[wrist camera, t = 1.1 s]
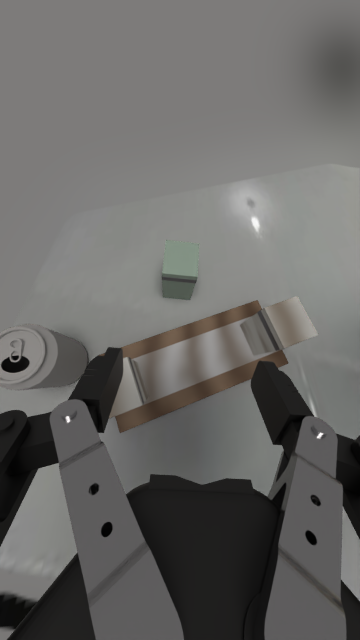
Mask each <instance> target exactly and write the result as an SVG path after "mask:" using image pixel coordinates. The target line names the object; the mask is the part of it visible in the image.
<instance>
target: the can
mask: <svg viewBox="0 0 360 640" xmlns="http://www.w3.org/2000/svg"><path fill="white" fill-rule="evenodd" d="M87 361H88V359H87V352H86V350H85V348H84V346H83V345H82V344H81V343H80V342H78V341H76V340H74V339H71V338H69V337H67V336H64V335H62V334H59V333H57V332H54V331H52V330H49V329H47V328H44V327H42V326H40V325H34V324H25V325H18V326H16V327H10V328H8V329H6V330H4V331H1V332H0V386H2V387H4V388H6V389H10V390H27V389H38V388H49V387H60V386H65V385H69V384H71V383H73V382H75V381H76V380H77V379H78V378H79V377H80V376H82V374H83V372H84V371H85V369H86V366H87Z"/></svg>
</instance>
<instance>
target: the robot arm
mask: <svg viewBox="0 0 360 640" xmlns="http://www.w3.org/2000/svg"><path fill="white" fill-rule="evenodd" d="M122 377H123V350H122V348H112V347H109V348H108V349H107V351H106V353H105V355H104V356H97V357H95V358H94V359H93V360H92V361H90V363H89V365H88V367H87V368H86V370H85V372H84V373H83V376H82V377H81V379H80V380H79V382H78V384H77V385H76V387H75V389H74V391H73V392H72V394H71V396H70V397H69V399H68V401H65V402H63V403H61V404H59V405H58V406H57V407H56V408H55V409H54V410H53V411H52V412H49V413H45V414H40V415H36V416H31V417H27V415H26V414H25V413H24V412H23V411H20V410H11V411H7V412H4V413H2V414H0V546H1V544H2V542H3V540H4V538H5V536H6V534H7V532H8V530H9V528H10V526H11V524H12V522H13V519H14V517H15V515H16V513H17V511H18V509H19V507H20V505H21V503H22V501H23V499H24V497H25V495H26V493H27V491H28V489H29V486H30V484H31V482H32V480H33V478H34V476H35V474H36V472H37V470H38V468H42V467H45V466H49V465H52V464H56V463H59V469H60V474H61V479H62V483H63V488H64V492H65V497H66V501H67V506H68V510H69V515H70V519H71V524H72V529H73V533H74V538H75V542H76V547H77V551H78V553H77V554H76V555H75V556H74V557H73V559H72V560H71V561H70V562H69V564H68V565H67V566H66V567H65V569H64V570H63V571H62V572H61V574H60V575H59V576H58V577H57V579H56V580H55V581H54V582H53V584H52V585H51V586H50V587H49V588H48V590H47V591H46V592H45V594H44V595H43V596H42V597H41V598H40V600H39V601H38V602H37V603H36V604H35V606H34V607H33V608H32V609H31V611H30V612H29V613H28V614H27V616H26V617H25V618H24V619H23V621H22V622H21V623H20V624H19V625H18V627H17V628H16V629H15V630H14V632H13V633H12V634H11V635H10V637H9V638H8V639H7V640H360V601H359V600H358V599H357V598H356V597H355V595H354V594H353V593H352V592H351V591H350V589H349V588H348V587H347V586H346V585H345V584H344V582H343V581H342V580H341V548H342V506H343V507H344V509H345V511H346V513H347V515H348V517H349V519H350V521H351V523H352V525H353V527H354V529H355V531H356V533H357V535H358V537H359V539H360V436H358V438H357V439H356V440H353V439H350V438H347V437H344V436H341V435H338V434H336V433H335V432H334V430H333V429H332V428H331V427H330V426H329V425H328V424H327V423H326V422H324V421H323V420H321V419H319V418H316V417H314V415H313V414H312V412H311V411H310V409H309V408H308V406H307V404H306V403H305V401H304V400H303V398H302V397H301V395H300V393H298V390H297V389H296V387H294V384H293V382H292V381H291V379H290V378H289V377H288V376H287V375H286V374H285V373H284V372H282V371H279V370H278V368H277V366H276V365H275V363H274V362H272V361H259V362H258V363H257V366H256V369H255V371H254V374H253V377H252V379H251V389H252V392H253V394H254V397H255V399H256V402H257V405H258V407H259V410H260V412H261V415H262V417H263V420H264V423H265V425H266V428H267V430H268V433H269V435H270V438H271V440H272V443H273V445H282V446H283V449H284V450H283V452H282V454H281V458H280V461H279V464H278V468H277V471H276V475H275V478H274V481H273V485H272V487H271V490H270V492H269V494H268V496H265V495H264V494H262V493H261V492H259V491H257V490H255V489H253V487H252V483H251V480H246V479H228V478H226V479H223V480H219V481H216V482H212V483H208V484H205V485H200V484H197V483H194V482H192V481H189V480H186V479H183V478H181V477H178V476H173V475H155V474H151V475H150V482H149V483H145V484H143V485H140V486H138V487H136V488H135V489H133V490H131V491H130V492H129V493H127V494H125V492H124V489H123V487H122V485H121V482H120V480H119V477H118V475H117V473H116V470H115V468H114V465H113V463H112V461H111V458H110V456H109V453H108V451H107V449H106V446H105V444H104V443H103V442H101V440H100V438H99V435H98V433H104V430H105V427H106V425H107V422H108V419H109V416H110V413H111V410H112V407H113V404H114V401H115V398H116V395H117V392H118V389H119V386H120V383H121V380H122ZM97 432H98V433H97Z"/></svg>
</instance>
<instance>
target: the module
mask: <svg viewBox="0 0 360 640" xmlns="http://www.w3.org/2000/svg"><path fill="white" fill-rule="evenodd" d="M198 258H199V244H198V243H189V242H180V241H171V240H166V244H165V252H164V261H163V270H162V286H163V297H165V298H175V299H185V300H190V298H191V295H192V292H193V289H194V286H195V283H196V281H197V274H198Z"/></svg>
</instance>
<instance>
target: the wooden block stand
mask: <svg viewBox="0 0 360 640" xmlns="http://www.w3.org/2000/svg"><path fill="white" fill-rule="evenodd" d="M317 335H318V333H317V331H316V329H315V328H314V326H313V324H312V322H311V320H310V318H309V317H308V315H307V313H306V311H305V309H304V307H303V306H302V304H301V302H300V300H299V298H298V296H296V297H294V298H291V299H288V300H285V301H282V302H280V303H277V304H274V305H271V306H268V307H266V308H264V309H262V308H261V306H260V304H259V302H258V300H256V301H253V302H251V303H248V304H245V305H242V306H239V307H236V308H233V309H230V310H228V311H225V312H222V313H219V314H216V315H213V316H210V317H207V318H205V319H202V320H199V321H196V322H193V323H190V324H187V325H185V326H182V327H179V328H176V329H173V330H170V331H167V332H164V333H162V334H159V335H156V336H153V337H150V338H147V339H144V340H141V341H139V342H136V343H133V344H130V345H127V346H124V347H121V348H122V350H123V377H122V380H121V383H120V386H119V389H118V392H117V395H116V398H115V401H114V404H113V407H112V410H111V413H110V416H109V418H112V417H116V420H117V424H118V428H119V431H120V433H121V432H124V431H126V430H129V429H131V428H133V427H136V426H138V425H141V424H143V423H146V422H148V421H150V420H153V419H155V418H158V417H160V416H162V415H165V414H167V413H170V412H172V411H174V410H177V409H179V408H182V407H184V406H187V405H189V404H191V403H194V402H196V401H199V400H201V399H203V398H206V397H208V396H211V395H213V394H215V393H218V392H220V391H223V390H225V389H227V388H230V387H232V386H235V385H237V384H240V383H242V382H244V381H247V380H249V379H252V377H253V374H254V371H255V369H256V366H257V363H258V362H259V361H272V362H274V363H275V365H276V366H277V368H278V367H281V366H283V365H285V364H288V361H287V359H286V357H285V355H284V353H283V351H282V349H284V348H287V347H289V346H292V345H294V344H297V343H299V342H302V341H304V340H307V339H309V338H312V337H314V336H317ZM104 355H105V353H104V354H101V355H99V356H104Z"/></svg>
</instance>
